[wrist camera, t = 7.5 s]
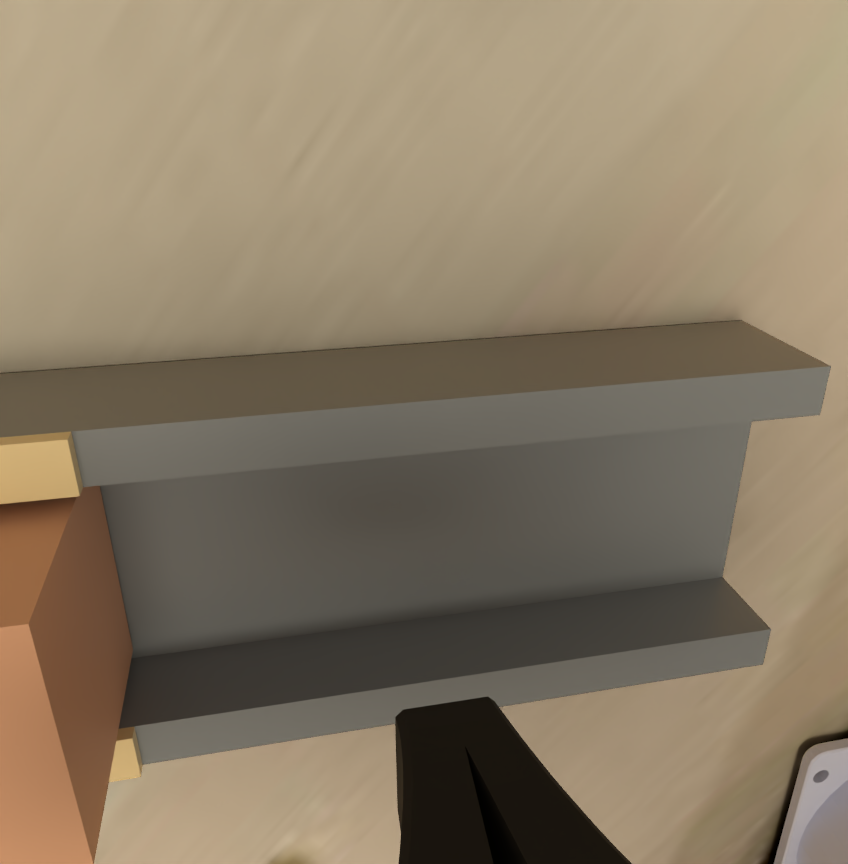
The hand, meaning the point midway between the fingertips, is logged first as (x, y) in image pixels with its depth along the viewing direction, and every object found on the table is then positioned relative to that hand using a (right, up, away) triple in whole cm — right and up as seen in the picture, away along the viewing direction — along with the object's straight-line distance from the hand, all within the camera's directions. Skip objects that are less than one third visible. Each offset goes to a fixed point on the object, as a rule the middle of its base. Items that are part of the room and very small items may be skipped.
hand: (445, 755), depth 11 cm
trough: (-2, +3, +6) cm, 7 cm away
